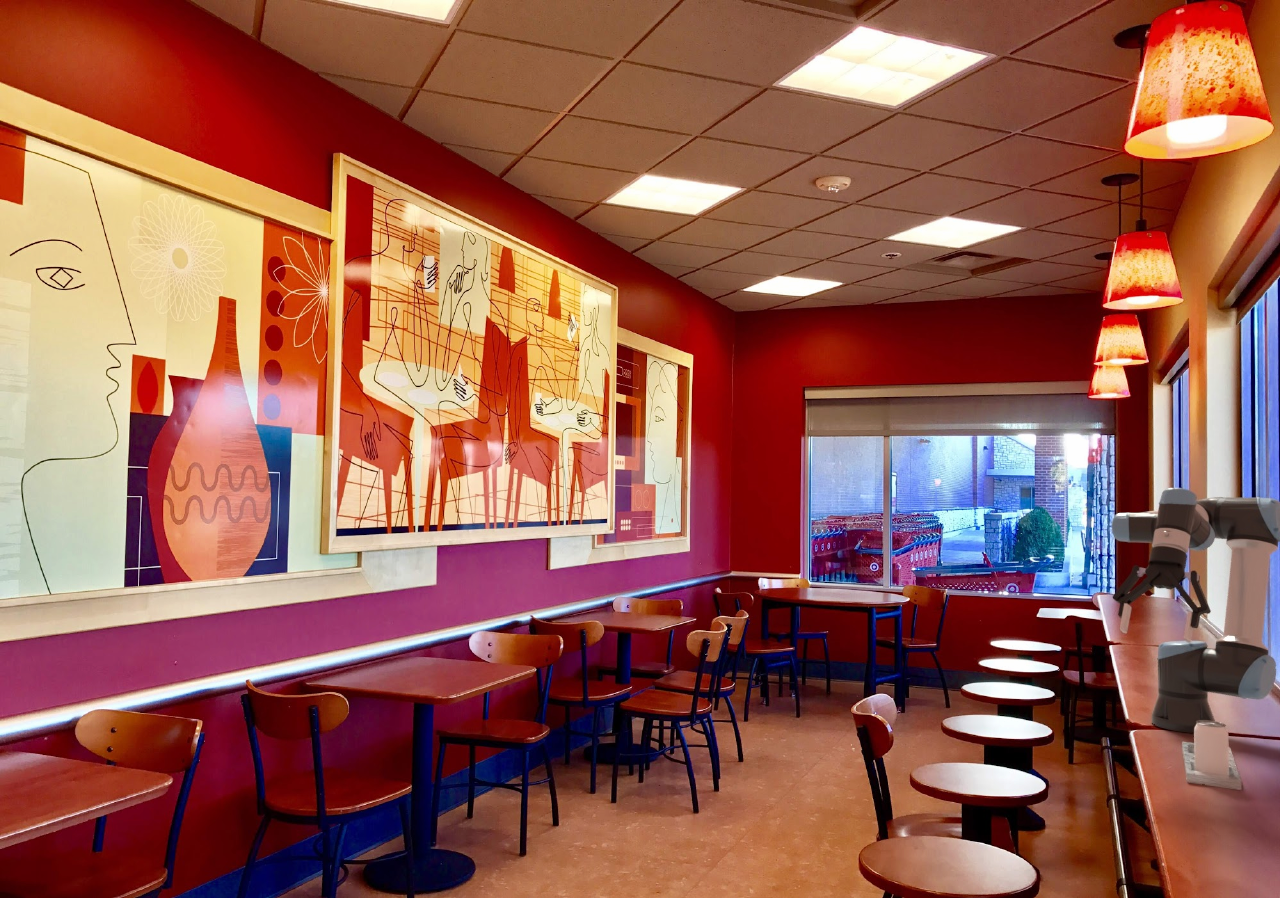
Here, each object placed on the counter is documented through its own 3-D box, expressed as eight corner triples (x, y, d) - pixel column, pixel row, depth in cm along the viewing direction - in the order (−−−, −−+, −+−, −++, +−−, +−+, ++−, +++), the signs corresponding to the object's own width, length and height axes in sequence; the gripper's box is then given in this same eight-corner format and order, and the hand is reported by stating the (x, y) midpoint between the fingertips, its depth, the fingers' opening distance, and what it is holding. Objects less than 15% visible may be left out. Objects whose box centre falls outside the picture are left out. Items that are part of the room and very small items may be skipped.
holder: (1182, 749, 225) (1182, 741, 225) (1230, 755, 220) (1230, 747, 220) (1186, 782, 198) (1186, 773, 199) (1241, 790, 194) (1241, 780, 194)
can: (1224, 775, 204) (1223, 721, 205) (1232, 783, 198) (1231, 728, 199) (1191, 771, 206) (1190, 718, 207) (1198, 780, 200) (1198, 725, 201)
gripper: (1108, 540, 222) (1092, 622, 216) (1224, 549, 204) (1210, 639, 198) (1119, 552, 227) (1103, 632, 221) (1234, 561, 208) (1220, 650, 202)
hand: (1154, 636), depth 209 cm, fingers open, 13 cm apart
